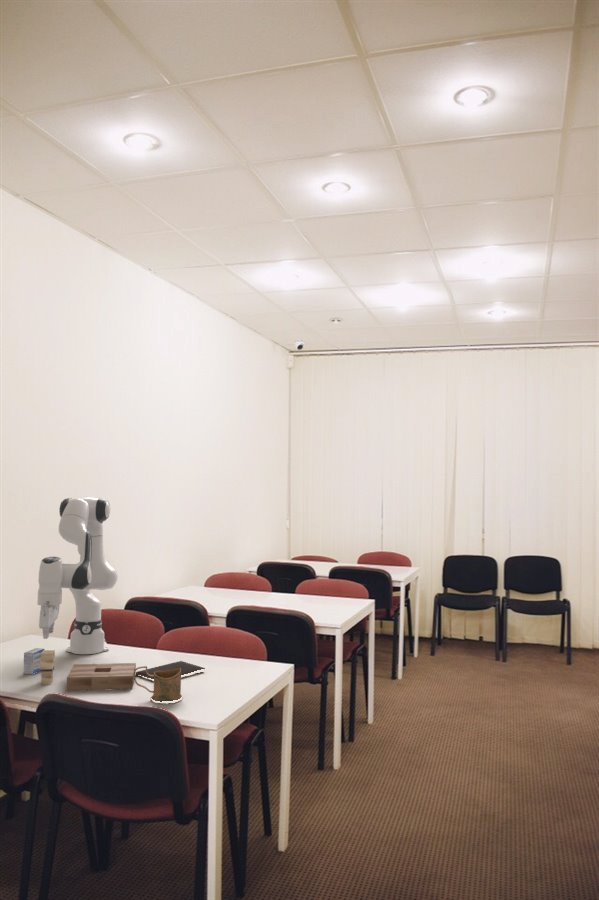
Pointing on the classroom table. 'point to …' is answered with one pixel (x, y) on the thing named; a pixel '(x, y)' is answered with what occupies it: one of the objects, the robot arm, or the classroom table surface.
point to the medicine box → (32, 661)
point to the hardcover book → (171, 668)
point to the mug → (165, 684)
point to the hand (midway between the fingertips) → (48, 635)
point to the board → (101, 676)
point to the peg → (47, 666)
